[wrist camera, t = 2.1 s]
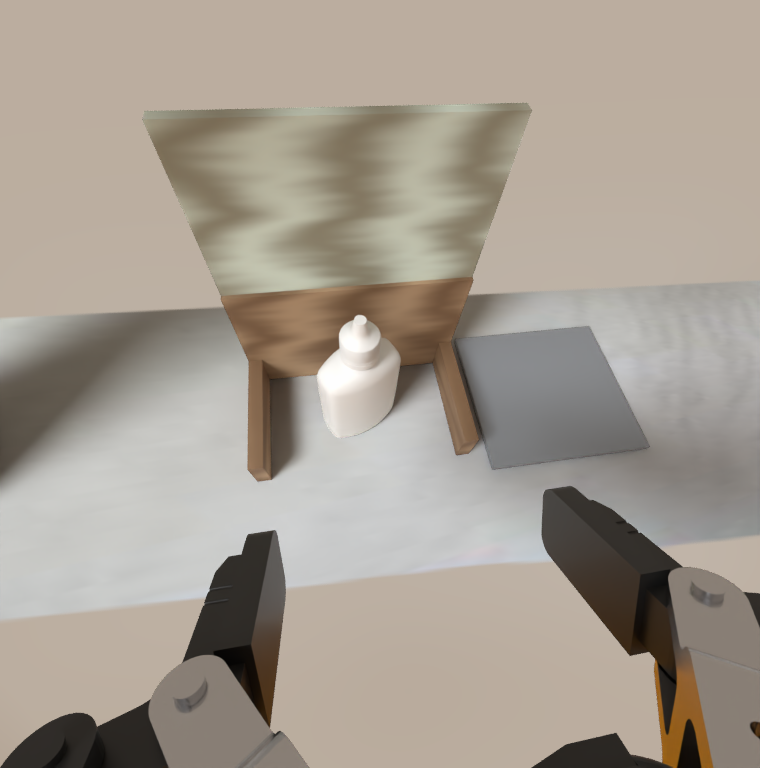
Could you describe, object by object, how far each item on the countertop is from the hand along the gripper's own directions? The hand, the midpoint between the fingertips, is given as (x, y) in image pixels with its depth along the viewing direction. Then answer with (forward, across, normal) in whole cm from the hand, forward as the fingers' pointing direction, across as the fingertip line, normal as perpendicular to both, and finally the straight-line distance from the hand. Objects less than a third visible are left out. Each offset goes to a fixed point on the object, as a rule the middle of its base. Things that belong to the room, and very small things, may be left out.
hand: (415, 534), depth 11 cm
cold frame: (+20, 0, +3) cm, 20 cm away
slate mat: (+20, -16, +4) cm, 26 cm away
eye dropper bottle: (+20, 0, +4) cm, 20 cm away
